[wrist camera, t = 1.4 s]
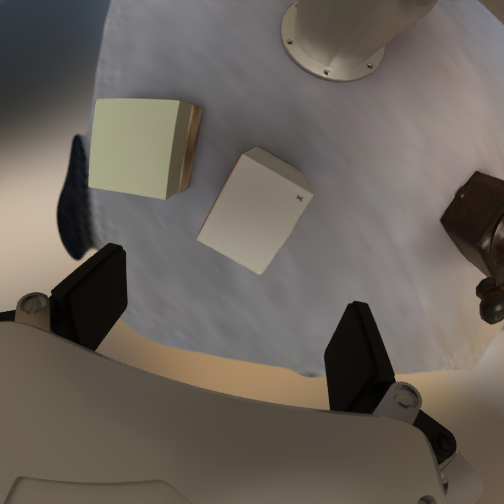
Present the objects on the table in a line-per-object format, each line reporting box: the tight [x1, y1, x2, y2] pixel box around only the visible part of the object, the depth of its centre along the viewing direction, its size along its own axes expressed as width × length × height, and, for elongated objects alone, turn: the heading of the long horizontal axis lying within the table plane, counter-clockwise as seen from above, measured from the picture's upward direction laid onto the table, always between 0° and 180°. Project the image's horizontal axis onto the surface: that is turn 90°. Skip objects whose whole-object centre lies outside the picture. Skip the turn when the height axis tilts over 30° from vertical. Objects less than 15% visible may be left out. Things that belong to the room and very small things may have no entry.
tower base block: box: [178, 106, 203, 193], centre depth 30 cm, size 10×10×4 cm
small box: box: [196, 147, 314, 275], centre depth 27 cm, size 8×6×13 cm
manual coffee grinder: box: [441, 171, 504, 324], centre depth 23 cm, size 16×11×18 cm
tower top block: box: [89, 99, 192, 200], centre depth 26 cm, size 10×10×4 cm
